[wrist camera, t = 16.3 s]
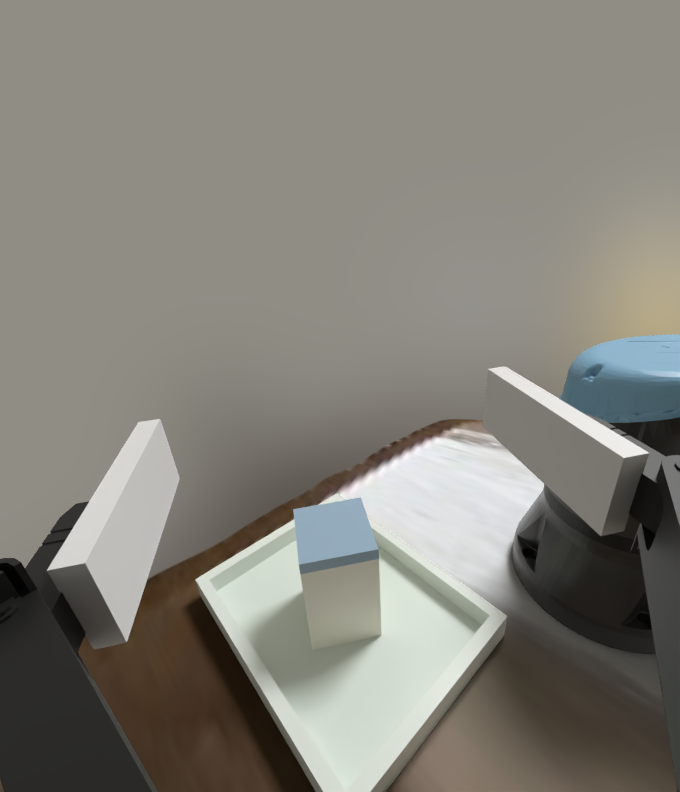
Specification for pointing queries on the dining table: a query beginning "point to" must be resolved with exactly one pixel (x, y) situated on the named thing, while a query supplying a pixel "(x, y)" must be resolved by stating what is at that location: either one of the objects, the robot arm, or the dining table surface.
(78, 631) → the robot arm
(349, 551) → the white boxy piece
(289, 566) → the tray
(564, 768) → the dining table surface
